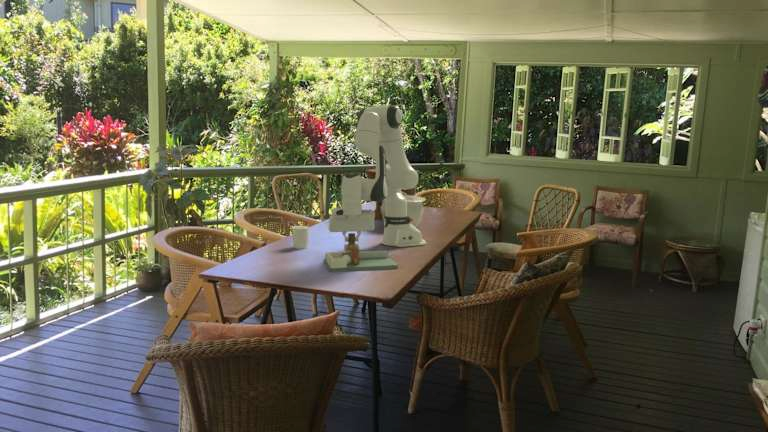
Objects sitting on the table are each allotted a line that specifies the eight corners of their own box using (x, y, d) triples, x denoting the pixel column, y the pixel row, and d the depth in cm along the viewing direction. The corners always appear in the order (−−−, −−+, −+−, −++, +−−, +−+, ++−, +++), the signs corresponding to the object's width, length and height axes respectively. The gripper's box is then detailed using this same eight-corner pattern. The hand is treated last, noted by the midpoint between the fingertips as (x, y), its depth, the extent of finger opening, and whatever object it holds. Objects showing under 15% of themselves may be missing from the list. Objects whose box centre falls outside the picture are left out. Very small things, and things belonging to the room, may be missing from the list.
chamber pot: (426, 231, 349) (427, 195, 346) (377, 231, 350) (377, 194, 346) (424, 223, 377) (425, 189, 374) (378, 222, 377) (379, 188, 374)
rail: (387, 257, 281) (387, 250, 280) (388, 257, 279) (388, 251, 279) (325, 259, 274) (325, 253, 273) (325, 260, 272) (325, 253, 272)
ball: (339, 255, 267) (342, 264, 268) (341, 257, 264) (344, 266, 264) (348, 252, 268) (351, 260, 269) (350, 254, 264) (353, 263, 265)
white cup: (297, 249, 300) (297, 229, 298) (289, 247, 306) (289, 226, 304) (311, 247, 305) (311, 227, 303) (303, 245, 311) (303, 225, 309)
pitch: (387, 259, 283) (387, 247, 282) (397, 268, 266) (397, 255, 265) (323, 262, 275) (323, 250, 274) (330, 271, 259) (330, 258, 258)
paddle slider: (357, 256, 278) (357, 232, 276) (363, 263, 266) (363, 238, 264) (344, 257, 277) (344, 233, 275) (349, 264, 264) (349, 239, 263)
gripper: (373, 208, 278) (373, 238, 280) (327, 209, 273) (327, 240, 275) (376, 210, 272) (376, 241, 274) (330, 211, 267) (330, 243, 269)
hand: (351, 241), depth 274 cm, fingers closed on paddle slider, 3 cm apart
